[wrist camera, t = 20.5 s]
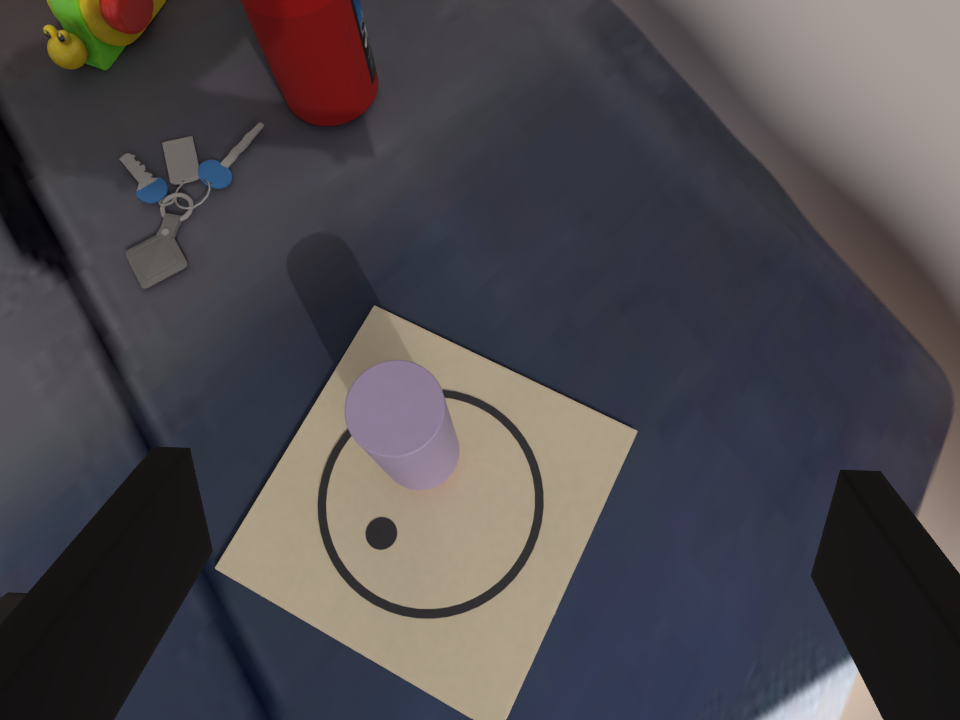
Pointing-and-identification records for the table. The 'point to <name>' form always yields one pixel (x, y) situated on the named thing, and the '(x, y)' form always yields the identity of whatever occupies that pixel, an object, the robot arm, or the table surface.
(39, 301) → the table surface
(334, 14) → the beverage can
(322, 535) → the beige square board
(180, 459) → the robot arm
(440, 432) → the cylinder
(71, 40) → the toy measuring tape
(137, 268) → the key chain
